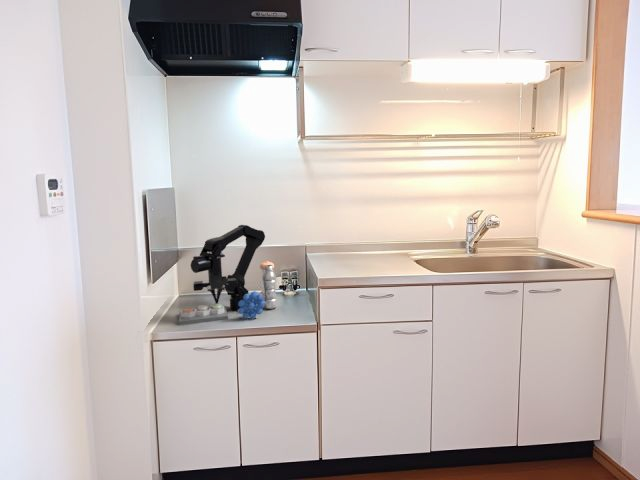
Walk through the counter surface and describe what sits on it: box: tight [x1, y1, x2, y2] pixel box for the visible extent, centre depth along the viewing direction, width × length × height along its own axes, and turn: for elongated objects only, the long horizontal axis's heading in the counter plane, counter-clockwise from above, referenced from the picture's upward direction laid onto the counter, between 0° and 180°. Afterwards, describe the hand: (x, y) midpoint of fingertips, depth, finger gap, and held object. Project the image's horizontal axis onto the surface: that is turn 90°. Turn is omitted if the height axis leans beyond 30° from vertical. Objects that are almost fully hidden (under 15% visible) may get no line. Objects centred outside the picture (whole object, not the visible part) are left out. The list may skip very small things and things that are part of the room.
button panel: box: [178, 305, 229, 326], centre depth 189 cm, size 20×14×4 cm
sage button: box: [211, 302, 223, 310], centre depth 190 cm, size 4×4×2 cm
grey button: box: [197, 304, 209, 311], centre depth 188 cm, size 4×4×2 cm
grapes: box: [237, 290, 265, 320], centre depth 185 cm, size 12×7×12 cm, turn 99°
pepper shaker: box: [259, 260, 275, 300], centre depth 214 cm, size 7×7×19 cm
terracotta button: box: [183, 307, 194, 313], centre depth 187 cm, size 4×4×2 cm
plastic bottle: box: [261, 265, 278, 310], centre depth 198 cm, size 6×7×20 cm
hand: (216, 303), depth 190 cm, fingers closed
